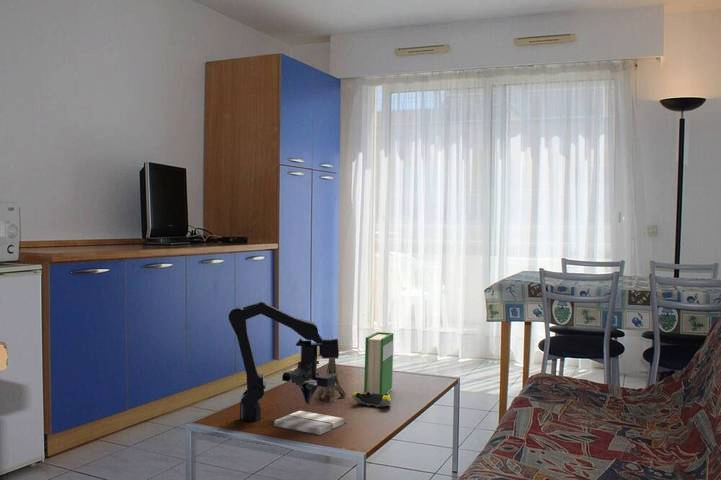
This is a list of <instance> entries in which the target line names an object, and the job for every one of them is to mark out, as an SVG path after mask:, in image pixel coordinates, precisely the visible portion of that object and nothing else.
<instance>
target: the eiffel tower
mask: <svg viewBox="0 0 721 480" xmlns="http://www.w3.org/2000/svg"><path fill="white" fill-rule="evenodd" d="M331 338H332V339H334V336H332V337H331ZM327 362H328V365H327V369H326V372H325V373H324V375H327V376H333V377H334V378H335V385H332V386H329V387H321V386H320V389H319V390H318V391H317V393H315V396H314V397H312V399H313V400H314V399H315V400H321V399H323V396H328V395H330V399H329V400H328V402H331V403H337V402H339V401H340V399H339V400H338V397H337V395H336V392H335V391H337V392H338V394H339V398H341V399H345V398H346V399H348V398H349V396H348V395H347V393H346V392H345V390H344V389H343V387H342V386H341V383H340V382H339V377H338V375H339V372H337V367H336V359H328V361H327ZM347 397H348V398H347Z"/></svg>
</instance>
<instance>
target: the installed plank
mask: <svg viewBox="0 0 721 480" xmlns="http://www.w3.org/2000/svg"><path fill="white" fill-rule="evenodd" d="M275 426H276V427H277V426H278V427H277V428H281V427H283V428H282V429H286V428H288V429H287V430H291V429H293V430H292V431H296V430H298V431H297V432H301V431H303V432H302V433H306V432H308V434H312V433H314V434H313V435H316V434H317V435H318V434H319V435H318V436H322V435H321V434H323V435H324V433H325V434H326V432H327V431H329V432H331V431H333V430H332V424H329V423H323V422H318V421H313V420H307V419H302V418H296V417H291V416H288V415H285V416H283V417H280V418H278V419H274V424H273V427H275ZM330 430H331V431H330ZM327 433H328V432H327Z"/></svg>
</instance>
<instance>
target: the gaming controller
mask: <svg viewBox="0 0 721 480" xmlns="http://www.w3.org/2000/svg"><path fill="white" fill-rule="evenodd" d="M351 396H352V399H353V400H355V402H357V403H358V404H361V405H367V406H366V407H372V406H374V407H375V408H381V407H382V408H385V406H387V407H388V406H389V405H392V404H391V403H392V399H391V395H390V394H389V393H388V394H387V395H384V396H383V395H381V394H374V393H372V394H370V392H366V393H365V394H364V393H361V392H359V391H354V392H352V395H351ZM371 405H372V406H371Z"/></svg>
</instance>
